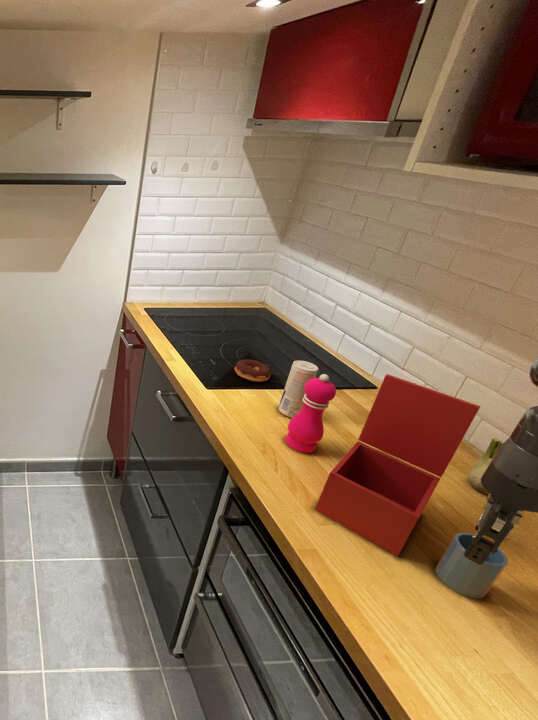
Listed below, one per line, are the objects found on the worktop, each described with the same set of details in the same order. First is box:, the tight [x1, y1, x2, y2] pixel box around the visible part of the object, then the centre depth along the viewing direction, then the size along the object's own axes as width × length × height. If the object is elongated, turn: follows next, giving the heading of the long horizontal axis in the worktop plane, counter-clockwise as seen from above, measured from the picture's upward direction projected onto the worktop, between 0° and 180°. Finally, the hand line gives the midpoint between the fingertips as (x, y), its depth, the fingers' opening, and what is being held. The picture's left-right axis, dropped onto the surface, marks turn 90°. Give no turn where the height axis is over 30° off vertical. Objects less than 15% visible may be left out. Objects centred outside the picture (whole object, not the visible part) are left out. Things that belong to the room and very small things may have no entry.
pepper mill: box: [285, 373, 337, 454], centre depth 105 cm, size 7×7×20 cm
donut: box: [234, 359, 272, 383], centre depth 138 cm, size 10×10×4 cm
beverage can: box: [277, 360, 319, 419], centre depth 118 cm, size 6×6×15 cm
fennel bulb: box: [467, 437, 504, 495], centre depth 94 cm, size 6×5×12 cm
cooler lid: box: [357, 373, 481, 478], centre depth 88 cm, size 16×14×5 cm
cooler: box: [314, 440, 441, 557], centre depth 88 cm, size 16×14×10 cm
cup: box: [435, 532, 509, 599], centre depth 75 cm, size 6×6×8 cm
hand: (477, 546), depth 74 cm, fingers open, 8 cm apart
